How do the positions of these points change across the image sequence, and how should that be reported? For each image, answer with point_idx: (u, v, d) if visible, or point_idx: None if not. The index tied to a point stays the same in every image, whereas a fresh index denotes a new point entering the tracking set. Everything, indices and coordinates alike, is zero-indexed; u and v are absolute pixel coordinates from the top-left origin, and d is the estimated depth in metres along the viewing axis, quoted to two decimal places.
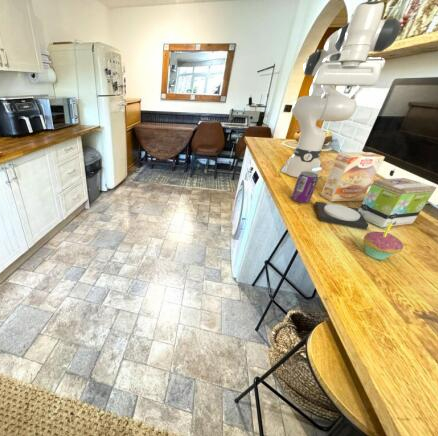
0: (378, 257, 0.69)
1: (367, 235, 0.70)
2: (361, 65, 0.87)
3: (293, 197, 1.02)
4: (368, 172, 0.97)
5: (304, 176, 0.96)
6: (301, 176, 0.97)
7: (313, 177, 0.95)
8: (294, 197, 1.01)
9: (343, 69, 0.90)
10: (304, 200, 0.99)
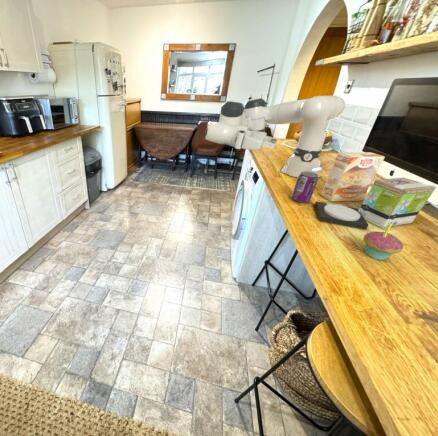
0: (378, 257, 0.69)
1: (367, 235, 0.70)
2: (250, 132, 1.04)
3: (293, 197, 1.02)
4: (368, 172, 0.97)
5: (304, 176, 0.96)
6: (301, 176, 0.97)
7: (313, 177, 0.95)
8: (294, 197, 1.01)
9: (251, 135, 1.00)
10: (304, 200, 0.99)
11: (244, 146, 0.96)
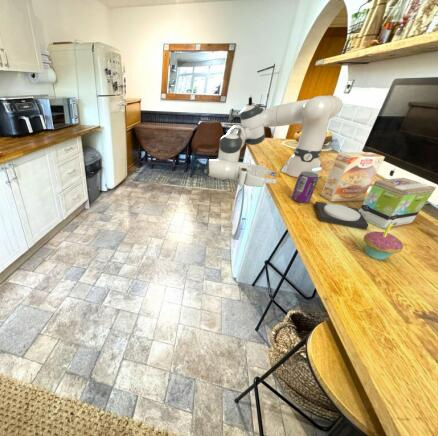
0: (378, 257, 0.69)
1: (367, 235, 0.70)
2: None
3: (293, 197, 1.02)
4: (368, 172, 0.97)
5: (304, 176, 0.96)
6: (301, 176, 0.97)
7: (313, 177, 0.95)
8: (294, 197, 1.01)
9: (253, 171, 1.04)
10: (304, 200, 0.99)
11: (247, 183, 1.00)
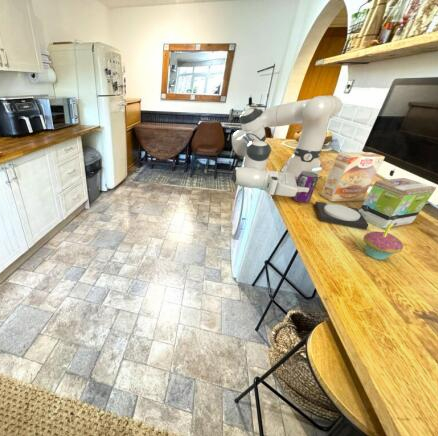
0: (378, 257, 0.69)
1: (367, 235, 0.70)
2: None
3: (293, 197, 1.02)
4: (368, 172, 0.97)
5: (304, 176, 0.96)
6: (301, 176, 0.98)
7: (313, 177, 0.95)
8: (294, 197, 1.02)
9: (283, 180, 1.01)
10: (304, 200, 0.99)
11: (279, 193, 0.97)
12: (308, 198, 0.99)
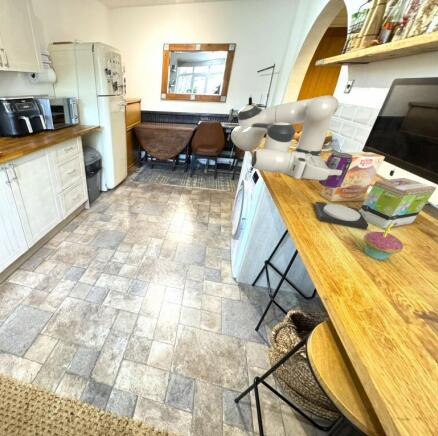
0: (378, 257, 0.69)
1: (367, 235, 0.70)
2: None
3: (321, 182, 0.90)
4: (368, 172, 0.97)
5: (336, 157, 0.84)
6: (332, 157, 0.85)
7: (347, 157, 0.83)
8: (323, 182, 0.89)
9: (310, 162, 0.89)
10: (335, 185, 0.87)
11: (307, 176, 0.84)
12: (339, 183, 0.87)
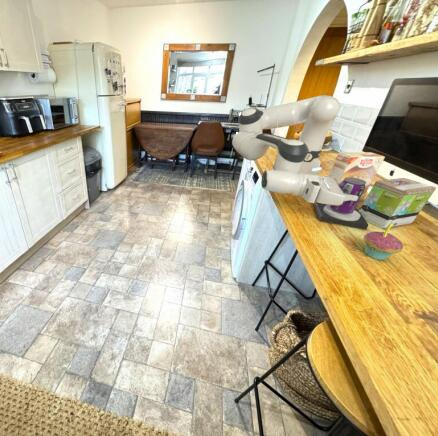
0: (378, 257, 0.69)
1: (367, 235, 0.70)
2: None
3: (333, 207, 0.88)
4: (368, 172, 0.97)
5: (349, 183, 0.82)
6: (345, 183, 0.83)
7: (360, 184, 0.80)
8: (335, 207, 0.87)
9: (324, 185, 0.86)
10: (347, 211, 0.85)
11: (321, 200, 0.82)
12: (352, 209, 0.85)
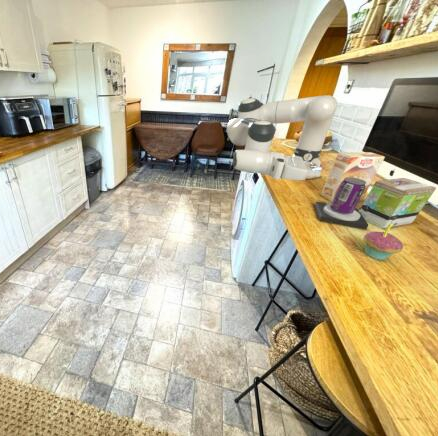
0: (378, 257, 0.69)
1: (367, 235, 0.70)
2: None
3: (333, 207, 0.88)
4: (368, 172, 0.97)
5: (349, 183, 0.82)
6: (345, 183, 0.83)
7: (360, 184, 0.80)
8: (335, 207, 0.87)
9: (290, 163, 0.88)
10: (347, 211, 0.85)
11: (286, 176, 0.84)
12: (352, 209, 0.85)
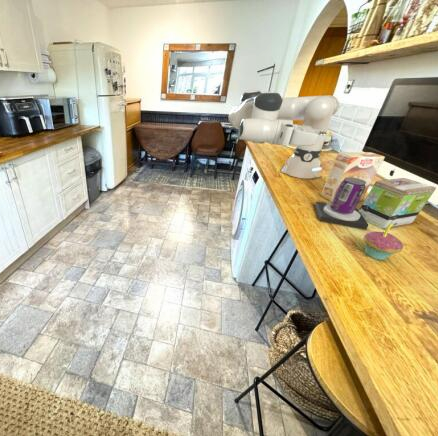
0: (378, 257, 0.69)
1: (367, 235, 0.70)
2: None
3: (333, 207, 0.88)
4: (368, 172, 0.97)
5: (349, 183, 0.82)
6: (345, 183, 0.83)
7: (360, 184, 0.80)
8: (335, 207, 0.87)
9: (298, 130, 0.85)
10: (347, 211, 0.85)
11: (295, 142, 0.81)
12: (352, 209, 0.85)
